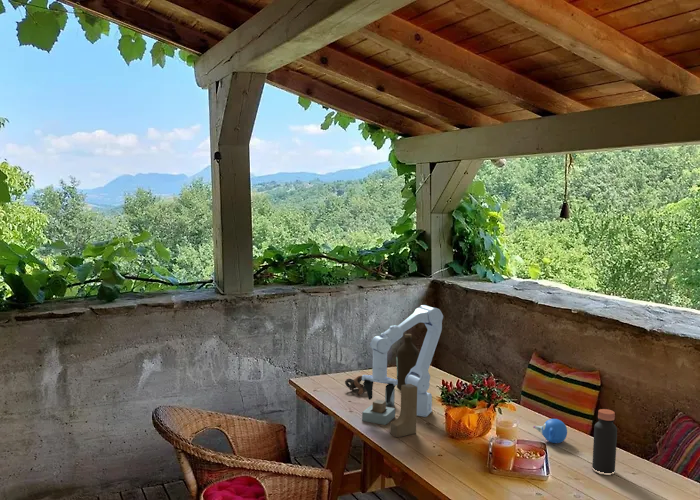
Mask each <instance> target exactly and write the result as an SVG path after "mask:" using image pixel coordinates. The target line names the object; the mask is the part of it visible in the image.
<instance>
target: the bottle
mask: <svg viewBox="0 0 700 500" xmlns="http://www.w3.org/2000/svg"><path fill="white" fill-rule="evenodd" d="M615 416H616V412H615V411H613V410H611V409H609V408H608V409H607V408H602V409H601V408H600V409H598V413H597V419H598V421H597V422H596V423H595V424H594V427H593V428H594V430H593V445H592V446H593V447H592V462H591V463H592V465H591V468H592V467H593V468H594V469H595V470H597V471H600V472H604V473H612V472H614V471H615V472H616V457H617V443H618V442H617V441H618V440H617V439H618V427H617V426H616V425H615V424H614V422H615V418H616V417H615Z"/></svg>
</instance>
